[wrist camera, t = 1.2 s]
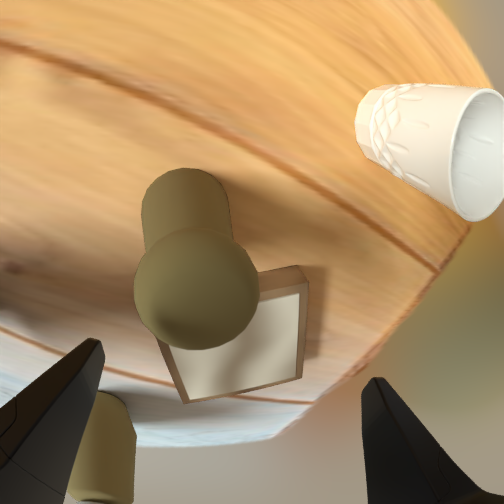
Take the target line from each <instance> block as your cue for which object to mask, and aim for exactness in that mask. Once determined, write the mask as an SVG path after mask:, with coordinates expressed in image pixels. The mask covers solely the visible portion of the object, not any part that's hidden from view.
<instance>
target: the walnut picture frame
mask: <svg viewBox="0 0 504 504" xmlns="http://www.w3.org/2000/svg"><path fill="white" fill-rule="evenodd" d="M258 280H259V288H260V298H259V302H258V306H257V310H256V313H255V314H254V316H253V318H252V320H251V321H250V323H249V324H248V326H247V327H246V329H245V330H244V331H243V332H242V333H241V334H239V335H238V336H237V337H236V338H235V339H233V340H232V341H230V342H227V343H225V344H223V345H221V346H219V347H215V348H211V349H206V350H184V349H180V348H176V347H172V346H170V345H168V344H166V343H165V342H163V341H161V340H159V339H158V338H157V337H156V336H155V337H156V339H157V342H158V344H159V347H160V350H161V352H162V355H163V357H164V360H165V362H166V365H167V367H168V369H169V372H170V374H171V377H172V379H173V381H174V384H175V386H176V388H177V390H178V393H179V395H180V397H181V399H182V402H183V404H188V403H194V402H200V401H206V400H211V399H216V398H222V397H227V396H231V395H236V394H241V393H245V392H250V391H254V390H258V389H262V388H267V387H271V386H274V385H278V384H282V383H286V382H290V381H293V380H297V379H300V378H302V373H303V361H304V349H305V337H306V322H307V307H308V289H309V282H308V280H307V279H306V277H305V276H304V274H303V273H302V272H301V270H300V269H299V267H298V266H297V265H295V266H290V267H285V268H280V269H275V270H270V271H265V272H260V273H258Z"/></svg>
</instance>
